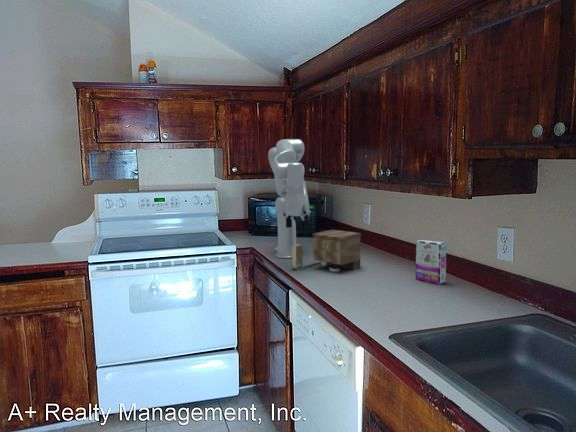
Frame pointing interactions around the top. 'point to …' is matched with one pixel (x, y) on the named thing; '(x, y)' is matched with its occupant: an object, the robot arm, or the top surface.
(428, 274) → the candy bar box
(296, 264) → the wood and grey l-block
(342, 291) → the top surface
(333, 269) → the steel token
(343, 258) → the cabinet
